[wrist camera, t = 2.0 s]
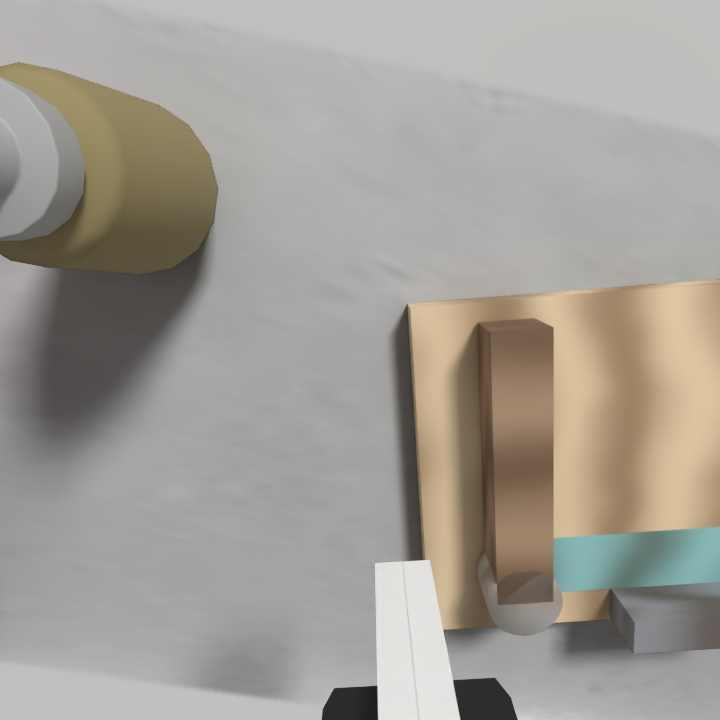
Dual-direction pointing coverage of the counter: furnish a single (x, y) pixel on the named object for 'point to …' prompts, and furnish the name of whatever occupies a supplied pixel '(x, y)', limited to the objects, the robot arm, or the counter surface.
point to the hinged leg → (518, 474)
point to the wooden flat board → (588, 456)
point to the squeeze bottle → (97, 177)
